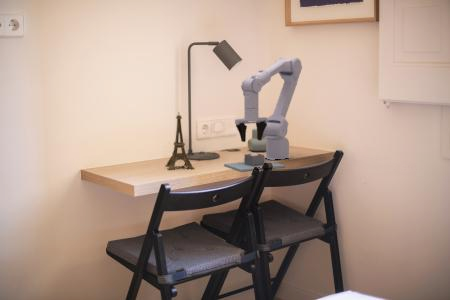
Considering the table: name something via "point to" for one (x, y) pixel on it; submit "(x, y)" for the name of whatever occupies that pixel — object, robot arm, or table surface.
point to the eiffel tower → (177, 144)
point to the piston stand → (243, 167)
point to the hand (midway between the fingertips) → (251, 140)
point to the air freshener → (256, 142)
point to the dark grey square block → (254, 160)
